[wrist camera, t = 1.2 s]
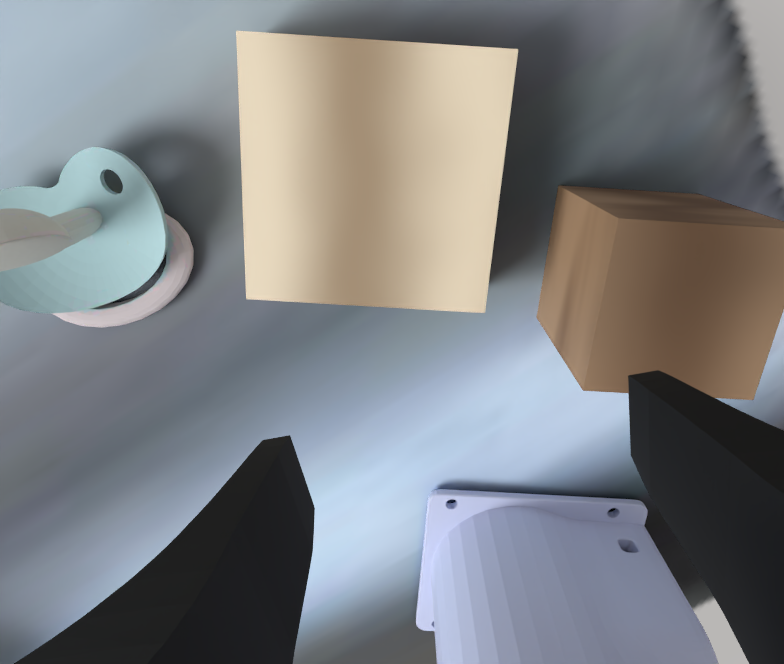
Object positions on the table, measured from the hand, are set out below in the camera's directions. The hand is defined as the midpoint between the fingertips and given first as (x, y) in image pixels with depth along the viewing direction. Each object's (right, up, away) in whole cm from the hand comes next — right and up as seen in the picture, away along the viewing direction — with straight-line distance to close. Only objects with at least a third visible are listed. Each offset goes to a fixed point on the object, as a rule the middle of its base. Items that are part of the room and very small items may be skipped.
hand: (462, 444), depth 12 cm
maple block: (-2, +8, +8) cm, 12 cm away
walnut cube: (+7, +5, +9) cm, 12 cm away
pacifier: (-12, +6, +9) cm, 16 cm away
